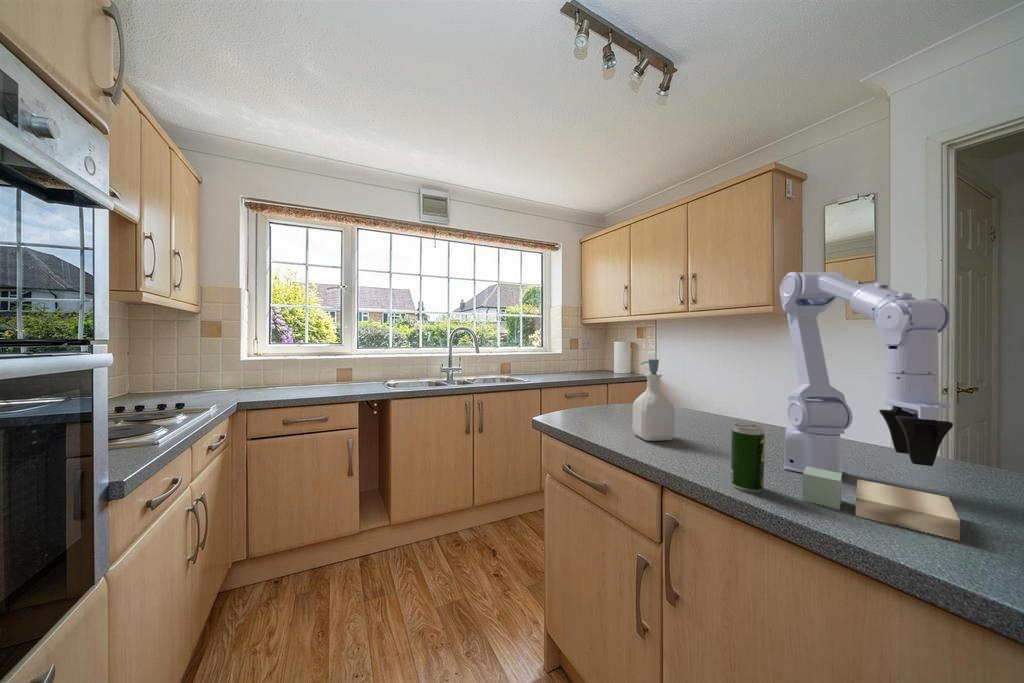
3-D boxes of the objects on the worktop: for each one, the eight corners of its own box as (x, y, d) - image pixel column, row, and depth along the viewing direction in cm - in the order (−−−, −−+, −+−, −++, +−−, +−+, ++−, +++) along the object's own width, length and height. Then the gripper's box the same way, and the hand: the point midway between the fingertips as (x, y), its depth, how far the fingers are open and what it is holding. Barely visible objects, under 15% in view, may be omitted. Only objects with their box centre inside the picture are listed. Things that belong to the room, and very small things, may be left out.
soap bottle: (629, 433, 112) (630, 357, 111) (660, 433, 113) (661, 357, 112) (644, 442, 102) (645, 360, 102) (677, 442, 103) (678, 360, 103)
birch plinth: (855, 515, 61) (855, 497, 61) (857, 495, 69) (857, 479, 69) (959, 541, 53) (960, 520, 53) (947, 515, 61) (948, 497, 61)
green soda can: (734, 491, 70) (735, 428, 70) (727, 480, 76) (728, 421, 75) (767, 495, 69) (769, 430, 69) (758, 484, 74) (759, 424, 74)
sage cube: (802, 501, 67) (803, 473, 67) (805, 492, 70) (806, 466, 70) (839, 510, 63) (840, 481, 63) (841, 501, 67) (841, 473, 67)
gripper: (971, 377, 52) (973, 475, 51) (930, 372, 64) (931, 452, 64) (899, 375, 56) (901, 466, 55) (873, 371, 68) (874, 446, 67)
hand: (913, 458), depth 60 cm, fingers open, 7 cm apart
